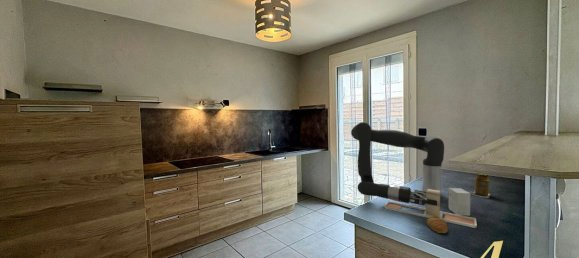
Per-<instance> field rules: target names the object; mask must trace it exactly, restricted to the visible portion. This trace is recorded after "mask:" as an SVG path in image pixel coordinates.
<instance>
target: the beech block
mask: <svg viewBox="0 0 579 258" xmlns="http://www.w3.org/2000/svg"><path fill="white" fill-rule="evenodd" d="M426 199H431V200H436V201H437V206H434V205H429V204H427V205H425V208H426V215H430V216H437V217H439V215H440V211H441V196H440V191H438V190H432V189H427V191H426Z"/></svg>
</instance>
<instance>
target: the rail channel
mask: <svg viewBox="0 0 579 258" xmlns="http://www.w3.org/2000/svg"><path fill="white" fill-rule="evenodd" d="M389 203H390V204H395V205H400V206H402V207H405V208H410V209H416V210H420V211H424V212H425V211H426V207H420V206H415V205H411V204H407V203H402V202H397V201H392V200H391V201H390V200H388V201H387V202H386V203H385V204H384V205H383V209H386V210H391V211H393V212H394V211H396V212H400V213H404V214H409V215H413V216H417V217H423V218H427V219H428V218H429V217H432V216H430V215H425V214H424V213H420V212H416V211H411V210H406V209H402V208H401V209H397V208H392V207H387V205H388V204H389ZM440 214H442V215H444V216H445V215H450V216H455V217H460V218H464V219H469V220H474V224H475V225H472V224H468V223H463V222H458V221H453V220H449V219H444V218H445V217H444V218H443V217H442V218H441V219H443V220H444V221H445V222H446V223H449V224H450V223H451V224H453V225H459V226H464V227H469V228H473V229H477V228H478V224H477V218H476V217H471V216H465V215H457V214H455V213H453V212H451V213H450V212H446V211H441V210H440Z"/></svg>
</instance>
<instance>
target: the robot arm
mask: <svg viewBox="0 0 579 258" xmlns="http://www.w3.org/2000/svg"><path fill="white" fill-rule="evenodd" d="M350 134H351V137H352V138H354V139H355V140H357V141H358V154H357V172H358V173H357V174H358V176H359V177H360V182H359V183H358V184H357V190H358V192H359V193H360V194H362V195H364V196H369V197H370V196H371V197H379V198H382V199H387V200H391V201H393V202H398V203H403V204H414V205H420V206H423V207H424V206H425V207H426V205H427V204H429V205H434V206H437V201H436V200H431V199H426V191H427V189H432V190H438V191H440V197H441V196H442V168H443V167H442V165H443V161H444V155H445V144H444V141H443V140H442V139H441V138H439V137H432V136H419V135H417V136H416V135H413V134H410V133H407V132H405V131H400V130H396V129H373V128H372V127H371V126H370V124H369V123H368V122H365V121H362V122H359V123H357V124H355V126H354V127H352V128H351V130H350ZM372 142H373V143H377V144H383V145H387V146H391V147H396V148H403V149H404V148H406V149H407V148H410V149H411V148H412V149H416V150H419V151H422V152H425V153H426V154H427V155H426V157H425V158H424V159H423V160H422V188H421V189H422V190H418V189H414V191H412V189H411V188H410V187H408V186H402V185H394V184H385V183H376V182H375V180H374V177H373V175H372V173H373V172H372V161H371V160H372V159H371V143H372Z"/></svg>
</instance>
